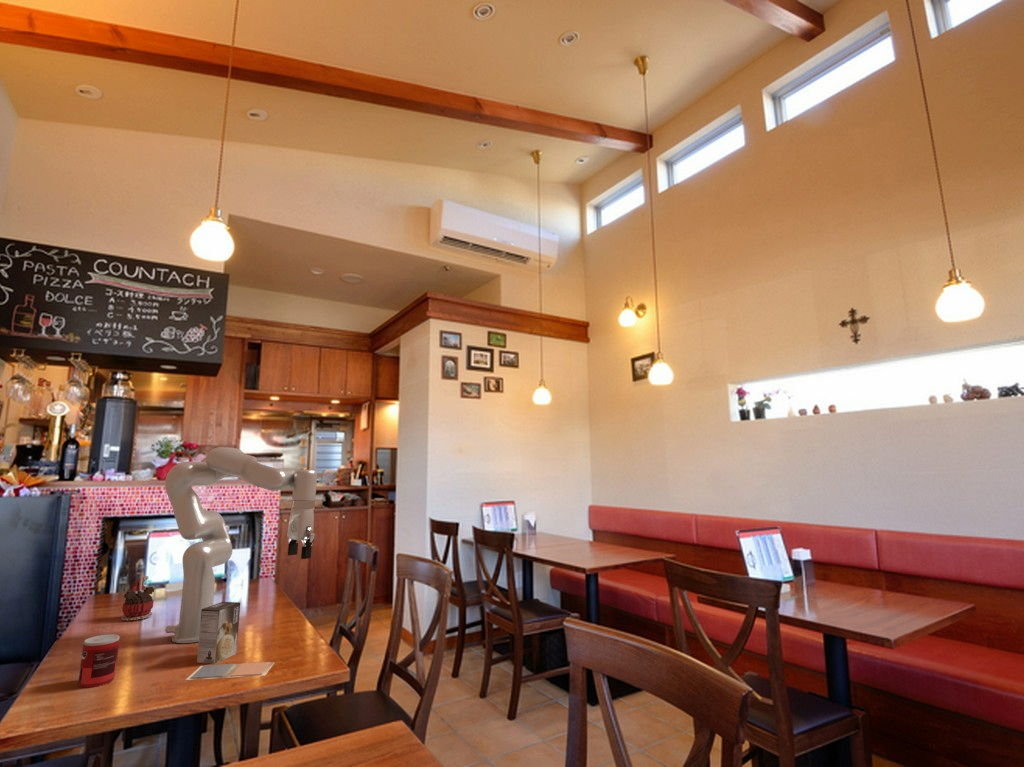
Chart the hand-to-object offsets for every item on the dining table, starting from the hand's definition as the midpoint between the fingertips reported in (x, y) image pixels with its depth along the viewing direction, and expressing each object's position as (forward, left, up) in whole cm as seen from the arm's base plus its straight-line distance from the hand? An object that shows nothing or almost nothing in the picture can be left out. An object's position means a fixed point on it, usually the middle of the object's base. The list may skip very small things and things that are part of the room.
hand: (299, 556), depth 177 cm
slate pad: (-15, -27, -26) cm, 41 cm away
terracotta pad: (-5, -27, -26) cm, 38 cm away
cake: (-65, +37, -28) cm, 80 cm away
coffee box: (-18, -16, -28) cm, 36 cm away
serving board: (-10, -27, -27) cm, 40 cm away
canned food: (-44, -27, -28) cm, 58 cm away
